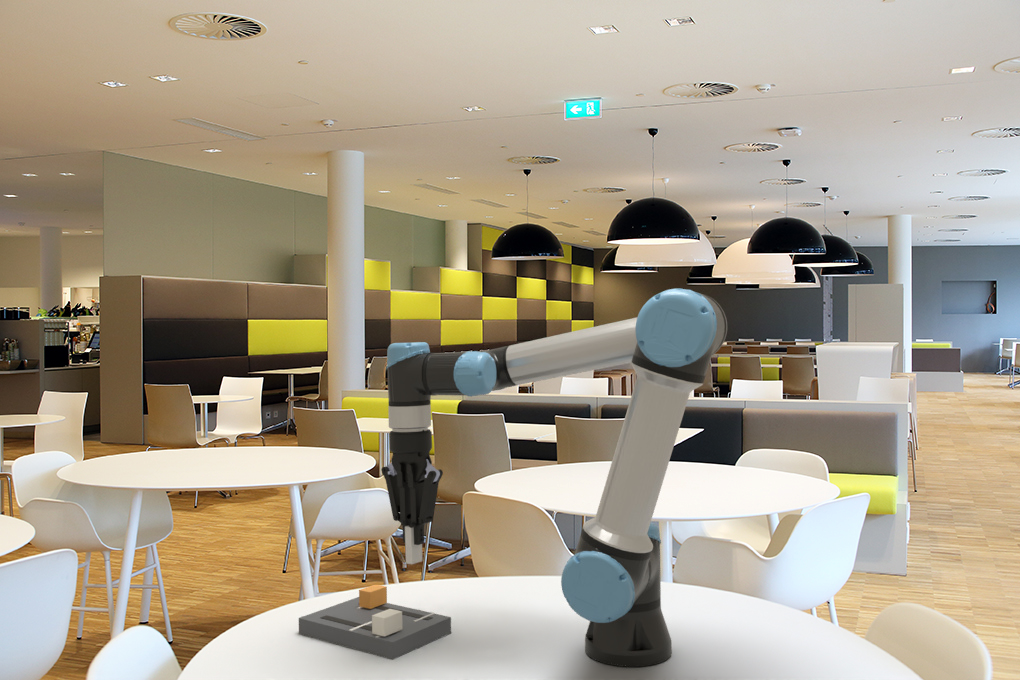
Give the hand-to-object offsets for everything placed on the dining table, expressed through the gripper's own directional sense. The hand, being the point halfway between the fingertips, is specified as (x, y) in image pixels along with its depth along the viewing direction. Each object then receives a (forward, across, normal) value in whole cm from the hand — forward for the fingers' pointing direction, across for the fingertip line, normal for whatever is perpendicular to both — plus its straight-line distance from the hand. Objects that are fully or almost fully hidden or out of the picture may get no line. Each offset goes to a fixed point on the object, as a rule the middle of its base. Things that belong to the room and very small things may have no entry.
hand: (414, 562), depth 155 cm
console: (+16, +13, -2) cm, 21 cm away
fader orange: (+12, +18, -7) cm, 23 cm away
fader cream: (+13, +5, +2) cm, 14 cm away
